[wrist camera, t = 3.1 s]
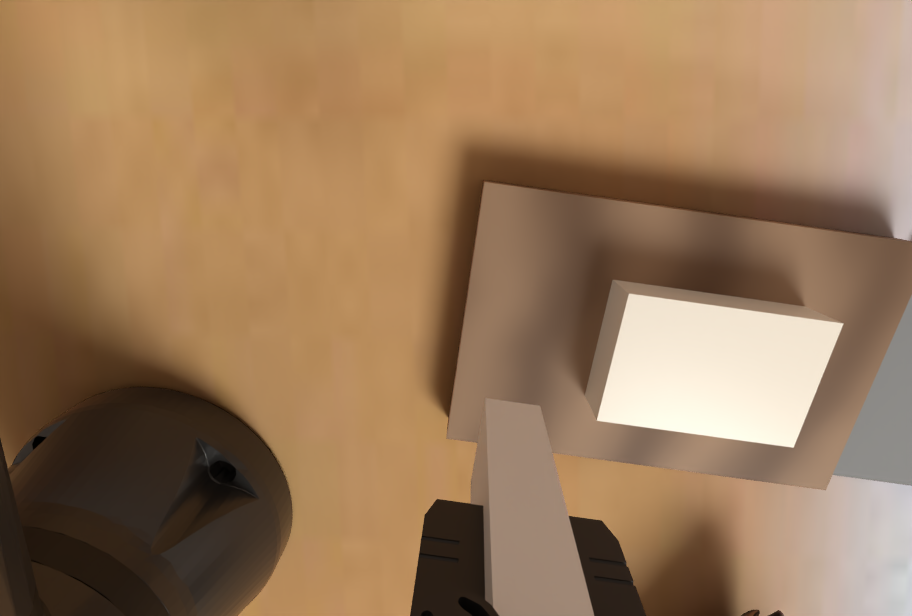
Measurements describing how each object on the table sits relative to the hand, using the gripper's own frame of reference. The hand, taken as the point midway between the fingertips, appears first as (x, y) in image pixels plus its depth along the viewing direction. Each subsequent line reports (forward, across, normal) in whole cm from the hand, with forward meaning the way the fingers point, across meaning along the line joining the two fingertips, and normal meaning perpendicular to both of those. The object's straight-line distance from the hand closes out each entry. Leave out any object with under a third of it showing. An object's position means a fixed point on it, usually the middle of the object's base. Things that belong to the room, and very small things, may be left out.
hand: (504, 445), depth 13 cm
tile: (+10, +10, 0) cm, 14 cm away
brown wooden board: (+12, +9, 0) cm, 15 cm away
